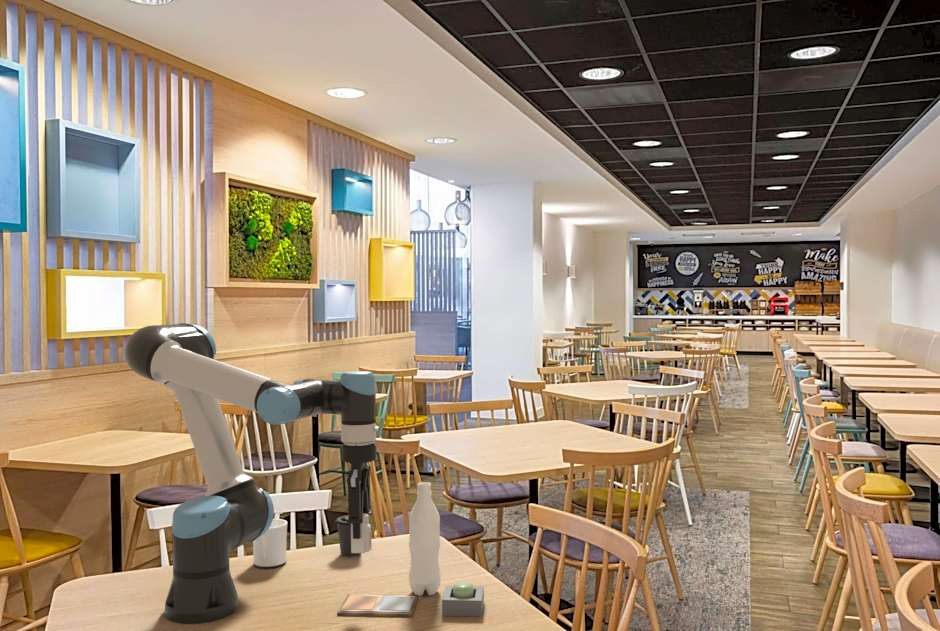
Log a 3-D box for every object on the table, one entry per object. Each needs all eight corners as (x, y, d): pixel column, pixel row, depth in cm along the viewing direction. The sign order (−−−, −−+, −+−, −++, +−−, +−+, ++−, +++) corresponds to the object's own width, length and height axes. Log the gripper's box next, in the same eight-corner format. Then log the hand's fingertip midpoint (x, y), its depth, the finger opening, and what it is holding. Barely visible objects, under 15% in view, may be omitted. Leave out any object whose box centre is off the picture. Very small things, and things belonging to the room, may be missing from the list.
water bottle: (436, 598, 183) (435, 487, 183) (405, 596, 185) (404, 486, 184) (443, 587, 190) (443, 480, 190) (413, 585, 192) (413, 479, 191)
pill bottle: (363, 546, 182) (362, 511, 182) (375, 550, 179) (374, 514, 179) (347, 550, 179) (346, 515, 179) (359, 554, 176) (358, 519, 176)
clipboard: (337, 615, 174) (337, 611, 174) (347, 597, 185) (347, 593, 185) (411, 616, 173) (411, 612, 173) (418, 598, 183) (418, 594, 183)
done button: (452, 602, 175) (452, 589, 175) (454, 594, 180) (454, 582, 180) (472, 602, 175) (472, 589, 175) (474, 595, 180) (474, 582, 179)
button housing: (442, 615, 174) (441, 599, 174) (446, 601, 182) (445, 585, 182) (481, 616, 173) (481, 600, 173) (483, 601, 181) (483, 586, 181)
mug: (260, 557, 213) (259, 518, 213) (292, 558, 212) (292, 519, 212) (242, 571, 202) (242, 530, 202) (277, 573, 201) (276, 531, 201)
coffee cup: (331, 558, 212) (330, 519, 212) (341, 548, 220) (340, 511, 220) (361, 559, 211) (361, 521, 211) (370, 549, 219) (370, 512, 219)
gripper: (368, 449, 169) (369, 562, 170) (383, 435, 187) (384, 537, 187) (332, 449, 170) (333, 561, 170) (350, 435, 187) (351, 537, 188)
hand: (360, 548), depth 179 cm, fingers closed on pill bottle, 4 cm apart
